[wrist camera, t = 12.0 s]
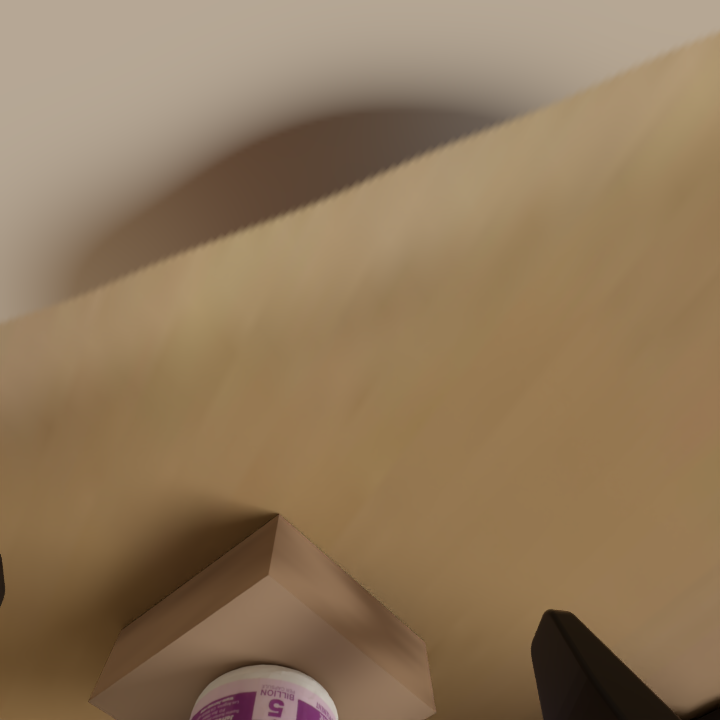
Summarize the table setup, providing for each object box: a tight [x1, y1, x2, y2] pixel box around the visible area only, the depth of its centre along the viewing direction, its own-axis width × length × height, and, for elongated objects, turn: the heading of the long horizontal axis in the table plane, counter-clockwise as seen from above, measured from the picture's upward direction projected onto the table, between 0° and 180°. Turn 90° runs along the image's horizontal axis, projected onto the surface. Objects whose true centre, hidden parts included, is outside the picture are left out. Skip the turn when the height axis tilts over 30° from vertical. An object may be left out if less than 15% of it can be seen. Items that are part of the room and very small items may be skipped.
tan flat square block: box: [88, 514, 436, 720], centre depth 21 cm, size 9×9×3 cm
